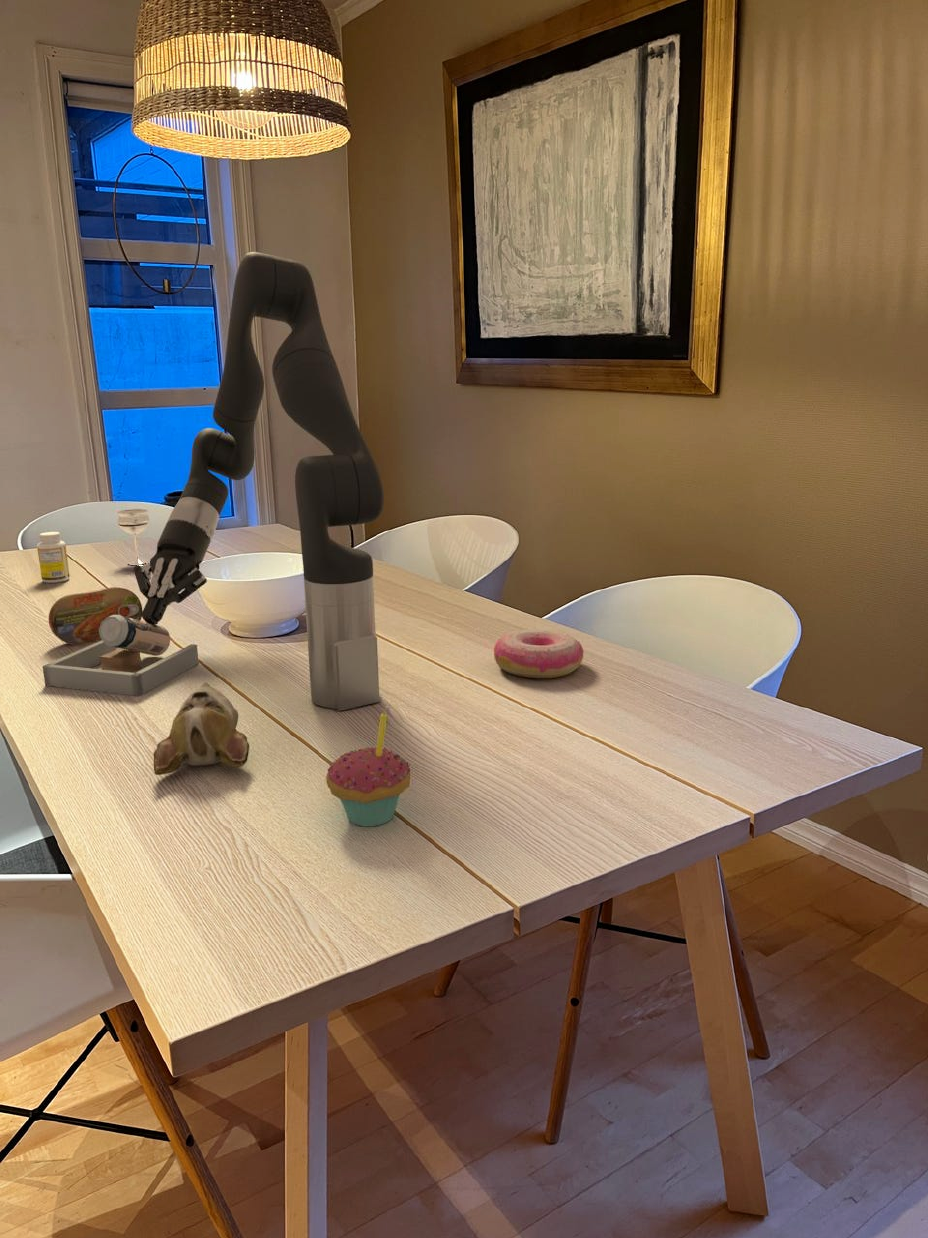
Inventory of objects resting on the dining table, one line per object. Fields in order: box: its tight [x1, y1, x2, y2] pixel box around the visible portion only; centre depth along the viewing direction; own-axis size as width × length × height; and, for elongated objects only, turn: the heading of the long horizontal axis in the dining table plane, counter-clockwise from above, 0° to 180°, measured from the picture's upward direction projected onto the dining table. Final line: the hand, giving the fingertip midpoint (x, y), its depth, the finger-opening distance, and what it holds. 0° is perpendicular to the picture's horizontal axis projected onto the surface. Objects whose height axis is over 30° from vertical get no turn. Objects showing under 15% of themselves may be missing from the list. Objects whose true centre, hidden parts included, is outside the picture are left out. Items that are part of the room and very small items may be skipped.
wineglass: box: [117, 508, 150, 564], centre depth 216 cm, size 7×7×12 cm
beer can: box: [99, 615, 171, 657], centre depth 145 cm, size 5×5×12 cm
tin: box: [48, 586, 143, 646], centre depth 159 cm, size 15×3×8 cm, turn 129°
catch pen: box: [42, 640, 200, 697], centre depth 141 cm, size 15×16×3 cm
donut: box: [493, 629, 584, 679], centre depth 141 cm, size 14×13×5 cm
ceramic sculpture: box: [153, 681, 250, 776], centre depth 111 cm, size 11×9×15 cm
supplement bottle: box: [36, 531, 71, 584], centre depth 200 cm, size 6×6×10 cm
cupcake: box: [325, 706, 411, 827], centre depth 96 cm, size 9×8×12 cm
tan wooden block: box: [100, 648, 143, 673], centre depth 143 cm, size 4×4×3 cm
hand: (149, 621), depth 147 cm, fingers closed
